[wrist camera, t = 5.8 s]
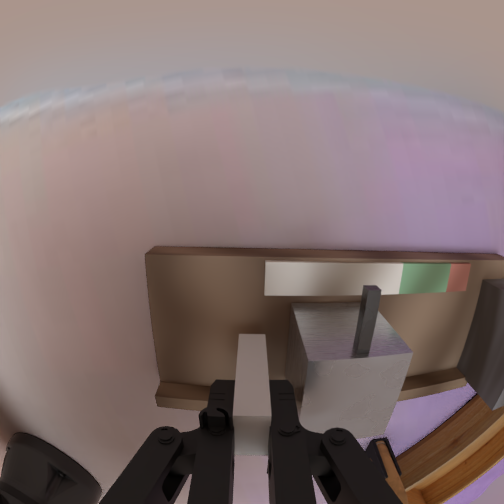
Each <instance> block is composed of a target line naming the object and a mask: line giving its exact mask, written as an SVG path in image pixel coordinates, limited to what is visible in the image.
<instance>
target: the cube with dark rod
mask: <svg viewBox="0 0 504 504" xmlns="http://www.w3.org/2000/svg"><path fill="white" fill-rule="evenodd" d="M381 291H382V290H381V289H380V288H379V287H378V286H377V285H363V291H362V298H361V302H345V303H291V313H290V326H289V338H288V349H287V360H286V370H285V380H288V381H289V382H290V383H291V384H292V385H293V389H294V394H295V400H296V406H297V411H298V417H299V421H300V424H301V425H302V426H303V427H304V428H305V429H307V430H309V431H312V432H316V433H322V434H324V432H325V431H326V430H329V429H331V428H337V427H338V428H344V429H346V430H348V431H350V432H351V433H352V434H353V436H354V437H355V439H358V438H365V437H371V436H377V435H382V434H384V432H385V429H386V427H387V425H388V422H389V420H390V417H391V415H392V412H393V410H394V407H395V405H396V402H397V400H398V397H399V394H400V391H401V389H402V386H403V383H404V380H405V377H406V374H407V371H408V368H409V365H410V362H411V359H412V355H413V351H412V350H411V349H410V348H409V347H408V345H407V344H406V343H405V342H404V341H403V339H402V338H401V337H400V336H399V335H398V333H397V332H396V331H395V330H394V329H393V328H392V326H391V325H390V324H389V323H388V322H387V320H386V319H385V318H384V317H383V316H382V315H381V314H380V312H379V311H378V308H379V303H380V297H381Z"/></svg>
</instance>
